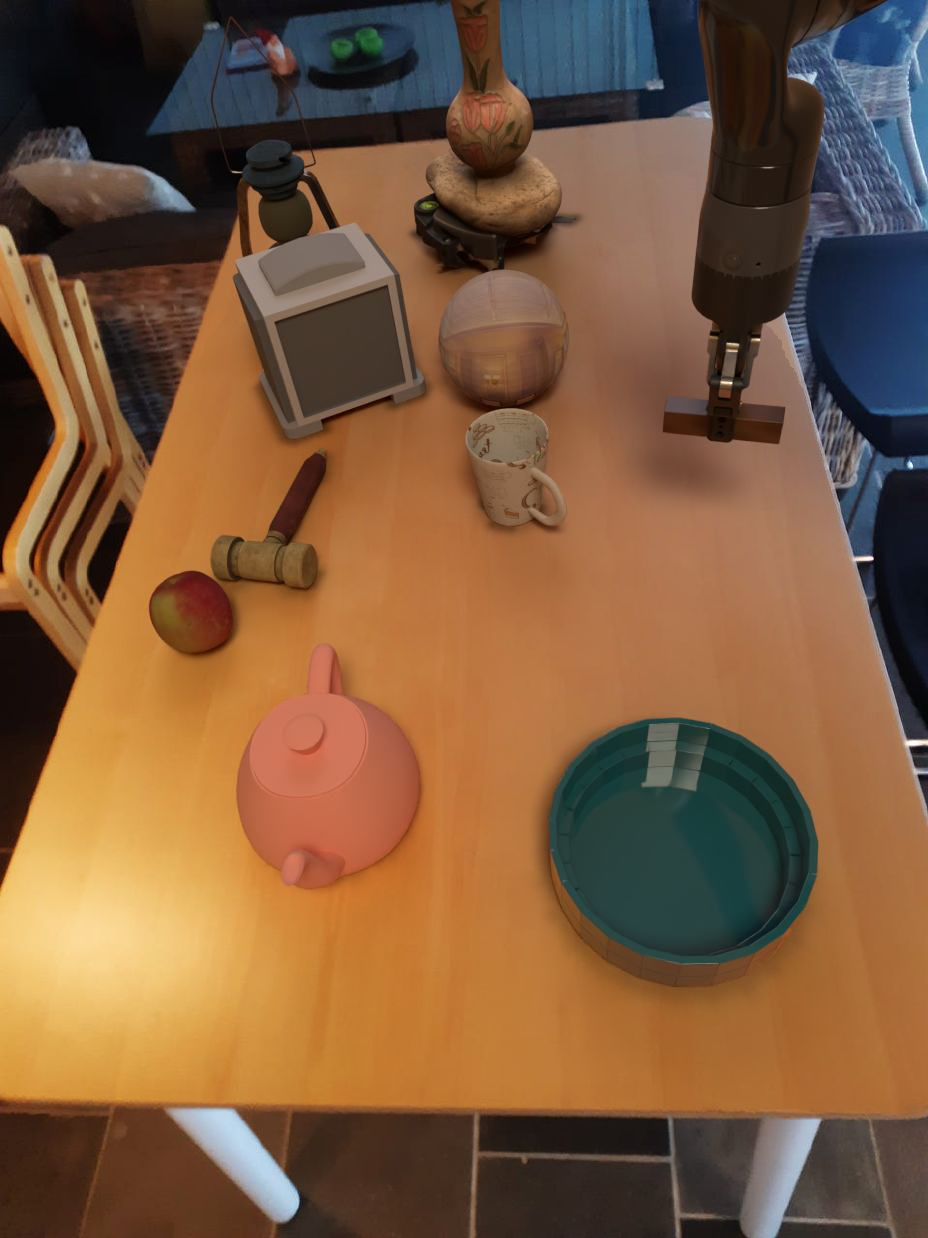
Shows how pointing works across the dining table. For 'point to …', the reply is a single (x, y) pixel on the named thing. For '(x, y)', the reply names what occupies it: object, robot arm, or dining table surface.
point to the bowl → (681, 851)
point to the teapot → (326, 782)
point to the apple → (191, 612)
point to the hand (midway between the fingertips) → (721, 428)
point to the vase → (486, 157)
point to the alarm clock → (327, 327)
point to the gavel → (275, 539)
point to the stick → (749, 424)
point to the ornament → (503, 338)
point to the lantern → (277, 186)
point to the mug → (512, 466)
